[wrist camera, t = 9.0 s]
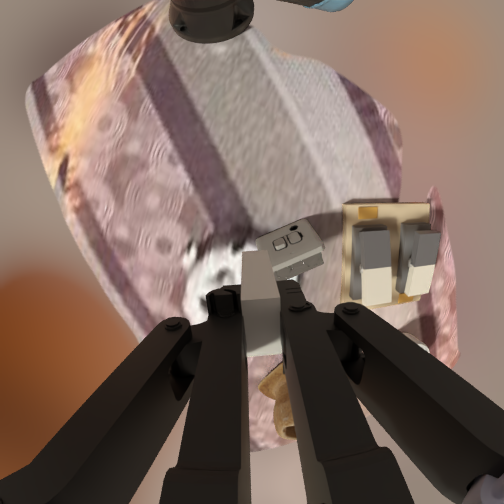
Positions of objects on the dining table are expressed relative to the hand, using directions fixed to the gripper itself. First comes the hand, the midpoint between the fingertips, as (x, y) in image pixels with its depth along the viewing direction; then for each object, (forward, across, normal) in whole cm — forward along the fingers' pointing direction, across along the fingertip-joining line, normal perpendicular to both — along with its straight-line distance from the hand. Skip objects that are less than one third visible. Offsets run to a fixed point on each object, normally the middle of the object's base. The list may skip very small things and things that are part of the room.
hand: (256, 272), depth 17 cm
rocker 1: (+24, +20, -10) cm, 33 cm away
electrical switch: (+30, +6, -6) cm, 31 cm away
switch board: (+29, +25, -10) cm, 40 cm away
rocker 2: (+24, +30, -10) cm, 40 cm away
